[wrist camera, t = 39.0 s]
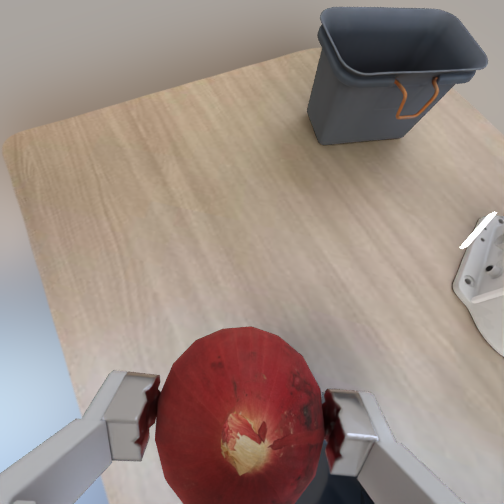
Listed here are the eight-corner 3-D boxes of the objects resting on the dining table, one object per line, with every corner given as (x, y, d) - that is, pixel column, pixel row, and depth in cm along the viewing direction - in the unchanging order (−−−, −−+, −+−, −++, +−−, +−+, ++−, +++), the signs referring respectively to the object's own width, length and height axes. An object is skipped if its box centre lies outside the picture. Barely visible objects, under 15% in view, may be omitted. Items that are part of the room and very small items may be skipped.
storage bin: (392, 95, 51) (451, 3, 37) (427, 157, 45) (509, 76, 32) (289, 103, 47) (313, 5, 34) (314, 171, 42) (353, 87, 29)
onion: (287, 331, 14) (360, 309, 7) (298, 460, 12) (422, 632, 5) (179, 335, 13) (127, 313, 6) (170, 471, 11) (76, 694, 4)
